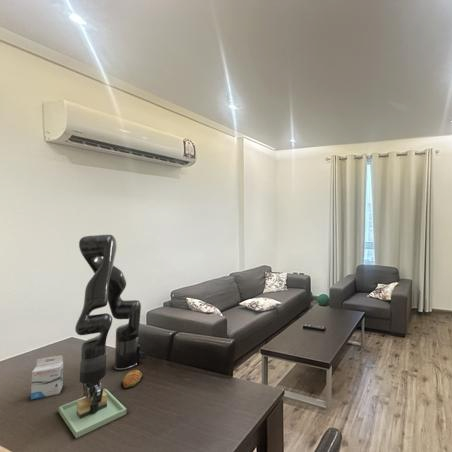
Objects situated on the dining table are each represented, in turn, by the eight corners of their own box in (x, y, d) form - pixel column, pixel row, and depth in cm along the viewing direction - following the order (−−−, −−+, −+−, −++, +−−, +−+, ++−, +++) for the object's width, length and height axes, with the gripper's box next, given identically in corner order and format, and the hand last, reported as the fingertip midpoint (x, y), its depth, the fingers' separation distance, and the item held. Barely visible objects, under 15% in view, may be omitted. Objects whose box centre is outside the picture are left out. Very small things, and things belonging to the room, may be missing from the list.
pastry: (137, 386, 120) (138, 378, 120) (119, 390, 117) (119, 381, 117) (142, 375, 128) (142, 367, 128) (125, 378, 125) (125, 370, 125)
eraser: (103, 402, 108) (103, 390, 108) (106, 406, 106) (107, 394, 106) (76, 414, 101) (76, 401, 101) (79, 418, 99) (80, 405, 99)
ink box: (30, 400, 108) (31, 364, 108) (34, 393, 113) (35, 359, 112) (59, 393, 113) (60, 359, 113) (63, 387, 117) (63, 354, 117)
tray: (105, 393, 115) (105, 388, 115) (126, 413, 103) (126, 408, 103) (58, 412, 103) (58, 407, 103) (75, 438, 91) (76, 432, 91)
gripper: (112, 367, 103) (111, 412, 103) (98, 357, 111) (97, 398, 111) (86, 377, 97) (85, 424, 97) (74, 364, 104) (73, 408, 104)
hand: (92, 410), depth 104 cm, fingers closed on eraser, 4 cm apart
